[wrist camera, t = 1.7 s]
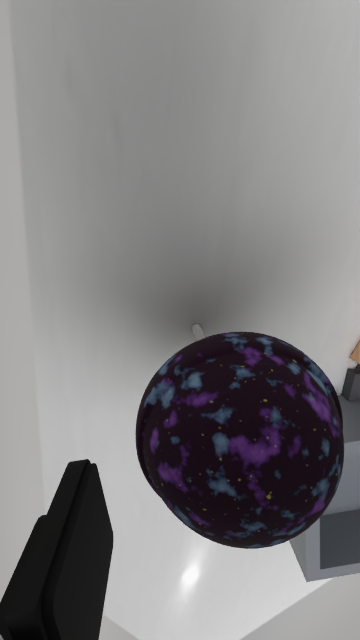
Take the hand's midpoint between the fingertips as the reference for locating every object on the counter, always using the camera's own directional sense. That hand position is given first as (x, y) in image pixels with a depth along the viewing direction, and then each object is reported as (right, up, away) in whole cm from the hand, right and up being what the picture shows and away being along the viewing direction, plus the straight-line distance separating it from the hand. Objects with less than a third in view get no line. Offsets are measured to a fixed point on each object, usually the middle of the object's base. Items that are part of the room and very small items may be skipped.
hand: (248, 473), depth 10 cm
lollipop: (-1, +4, +12) cm, 13 cm away
